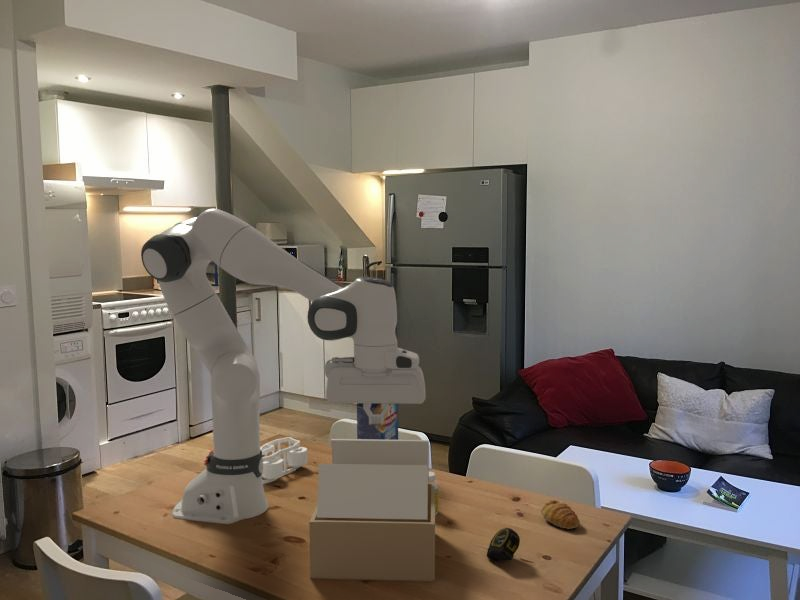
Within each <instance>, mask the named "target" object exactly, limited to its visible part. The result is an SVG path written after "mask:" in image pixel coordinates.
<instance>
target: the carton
mask: <svg viewBox="0 0 800 600" xmlns="http://www.w3.org/2000/svg"><path fill="white" fill-rule="evenodd" d="M308 523H309V525H308V526H309V529H308V530H309V566H310V567H309V576H310V578H309V579H312V580H313V579H315V580H345V581H348V580H349V581H351V580H352V581H378V580H385V582H387V581H388V582H414V581H420V582H423V583H428V582H427V581H431V582H430V583H435V581H436V577H435V576H436V571H435V570H436V515H435V482H428V520H424V519H372V518H320V517H317V505H316V506H315V508H314V510H313V513H312V515H311V518H310V520H309V522H308Z"/></svg>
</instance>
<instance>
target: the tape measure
mask: <svg viewBox="0 0 800 600" xmlns="http://www.w3.org/2000/svg"><path fill="white" fill-rule="evenodd" d="M520 540H521V539H520V536H519V534H518V533H517V532H516V531H515V530H514V529H512V528H510V527H504V528H502V529H499V530H498V531H497V532H496V533H495V534H494V535H493V536H492V539H491V540H490V543H489V546H488V549H487V553H486V558H487V559H488V560H490V561H493V562H503V561H506V562H507V561H508V562H509V561H512V560H513V558H514V557H515V553H516V552H517V551H518V549H519V546H520V542H521V541H520Z"/></svg>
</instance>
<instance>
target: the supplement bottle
mask: <svg viewBox="0 0 800 600" xmlns="http://www.w3.org/2000/svg"><path fill="white" fill-rule="evenodd" d="M428 482H435V516H437V515H438V512H439V484H438V482H437V481H436V473H435V472H434V471H430V470H429V481H428Z"/></svg>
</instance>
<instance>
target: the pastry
mask: <svg viewBox="0 0 800 600" xmlns="http://www.w3.org/2000/svg"><path fill="white" fill-rule="evenodd" d="M540 513H541V515H542V517H543V519H545V520H546V521H547V522H549V524H550V523H551V524H553V525H554V526H557V527H559V528H561V529H567V530H572V529H574V528H575V529H576V528H577V527H579V525H580V522H581V521H580V519H579V517H578V515H577V514H576V512H575V511H574V510H573V509H572V508H571V506H568V505H567V504H566V503H563V502H562V503H561V502H559V501H558V500H555V499H553V500H549V501H547V502H546V503H544V505H543V506H542V508H541V509H540Z"/></svg>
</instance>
